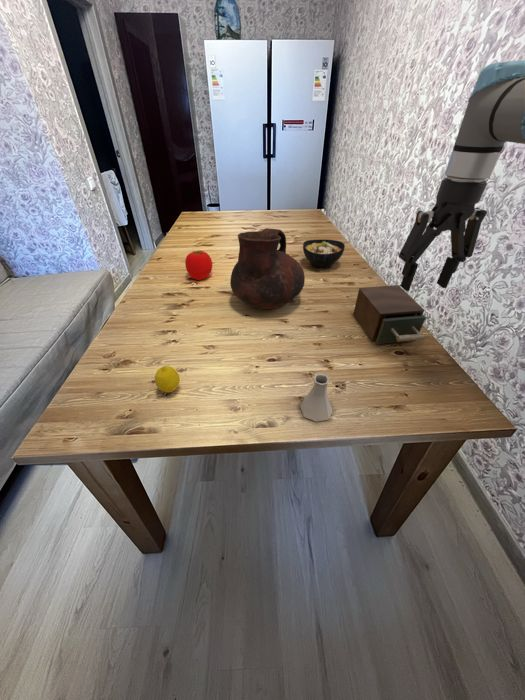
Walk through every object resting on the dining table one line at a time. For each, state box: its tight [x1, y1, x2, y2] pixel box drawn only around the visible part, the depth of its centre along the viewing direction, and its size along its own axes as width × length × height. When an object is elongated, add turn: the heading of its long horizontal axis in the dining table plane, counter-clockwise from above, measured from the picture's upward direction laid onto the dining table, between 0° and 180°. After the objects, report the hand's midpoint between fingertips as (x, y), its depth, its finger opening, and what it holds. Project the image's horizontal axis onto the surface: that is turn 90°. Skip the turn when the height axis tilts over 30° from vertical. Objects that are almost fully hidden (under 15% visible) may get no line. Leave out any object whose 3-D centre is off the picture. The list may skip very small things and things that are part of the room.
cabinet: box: [352, 284, 425, 343], centre depth 86 cm, size 15×13×10 cm
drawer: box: [376, 313, 427, 345], centre depth 82 cm, size 19×12×8 cm, turn 7°
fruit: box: [154, 365, 181, 393], centre depth 67 cm, size 6×6×8 cm
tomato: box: [184, 250, 214, 281], centre depth 113 cm, size 10×11×11 cm
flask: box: [300, 373, 333, 423], centre depth 62 cm, size 7×7×10 cm
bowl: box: [302, 239, 346, 270], centre depth 121 cm, size 17×17×10 cm
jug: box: [229, 227, 306, 310], centre depth 94 cm, size 25×25×25 cm
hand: (423, 286), depth 68 cm, fingers open, 9 cm apart
